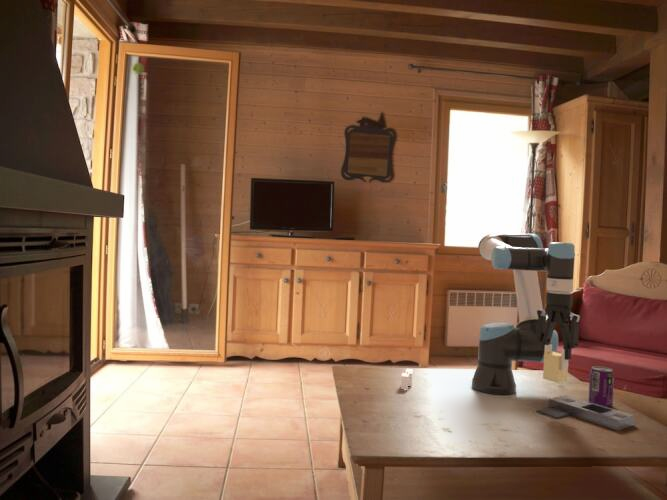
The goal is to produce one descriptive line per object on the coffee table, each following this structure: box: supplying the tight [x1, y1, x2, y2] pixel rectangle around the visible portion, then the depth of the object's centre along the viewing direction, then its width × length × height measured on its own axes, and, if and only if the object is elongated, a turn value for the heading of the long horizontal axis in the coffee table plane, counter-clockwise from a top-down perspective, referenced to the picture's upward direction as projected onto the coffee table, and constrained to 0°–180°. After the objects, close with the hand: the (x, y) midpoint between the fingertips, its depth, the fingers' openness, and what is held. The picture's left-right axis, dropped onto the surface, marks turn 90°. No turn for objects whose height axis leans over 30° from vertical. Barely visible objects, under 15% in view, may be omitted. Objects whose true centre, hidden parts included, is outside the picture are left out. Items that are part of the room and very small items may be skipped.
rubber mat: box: [536, 406, 571, 420], centre depth 162 cm, size 7×7×1 cm
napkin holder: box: [400, 368, 414, 391], centre depth 186 cm, size 15×11×6 cm
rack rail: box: [548, 394, 635, 431], centre depth 160 cm, size 22×9×3 cm, turn 34°
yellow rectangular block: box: [542, 351, 569, 383], centre depth 161 cm, size 5×5×8 cm
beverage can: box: [588, 366, 615, 408], centre depth 173 cm, size 7×7×12 cm
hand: (555, 367), depth 161 cm, fingers closed on yellow rectangular block, 5 cm apart
